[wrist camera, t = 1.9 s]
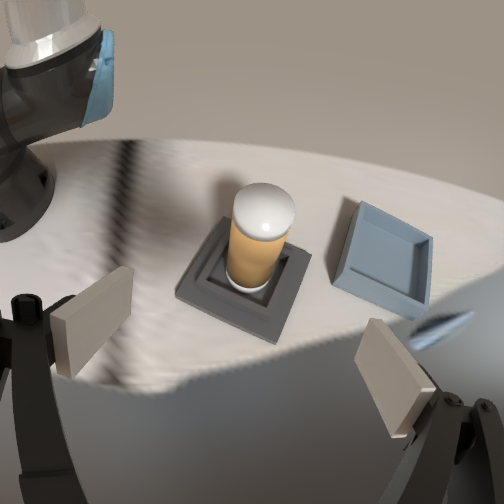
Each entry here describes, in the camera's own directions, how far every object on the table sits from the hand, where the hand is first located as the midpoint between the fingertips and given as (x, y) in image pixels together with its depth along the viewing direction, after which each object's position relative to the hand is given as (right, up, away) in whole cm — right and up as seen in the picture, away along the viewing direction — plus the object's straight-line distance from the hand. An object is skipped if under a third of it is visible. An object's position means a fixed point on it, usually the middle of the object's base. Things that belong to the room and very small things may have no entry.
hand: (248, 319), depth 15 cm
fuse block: (0, +1, +19) cm, 19 cm away
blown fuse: (0, +1, +19) cm, 19 cm away
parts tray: (+18, +2, +23) cm, 29 cm away
